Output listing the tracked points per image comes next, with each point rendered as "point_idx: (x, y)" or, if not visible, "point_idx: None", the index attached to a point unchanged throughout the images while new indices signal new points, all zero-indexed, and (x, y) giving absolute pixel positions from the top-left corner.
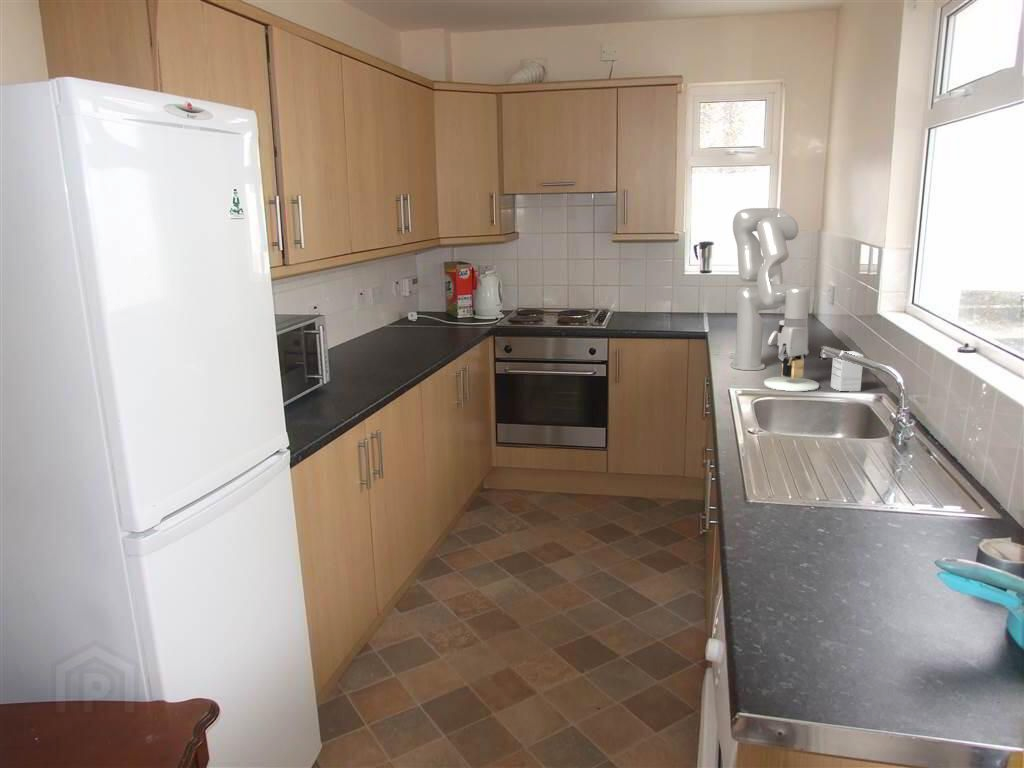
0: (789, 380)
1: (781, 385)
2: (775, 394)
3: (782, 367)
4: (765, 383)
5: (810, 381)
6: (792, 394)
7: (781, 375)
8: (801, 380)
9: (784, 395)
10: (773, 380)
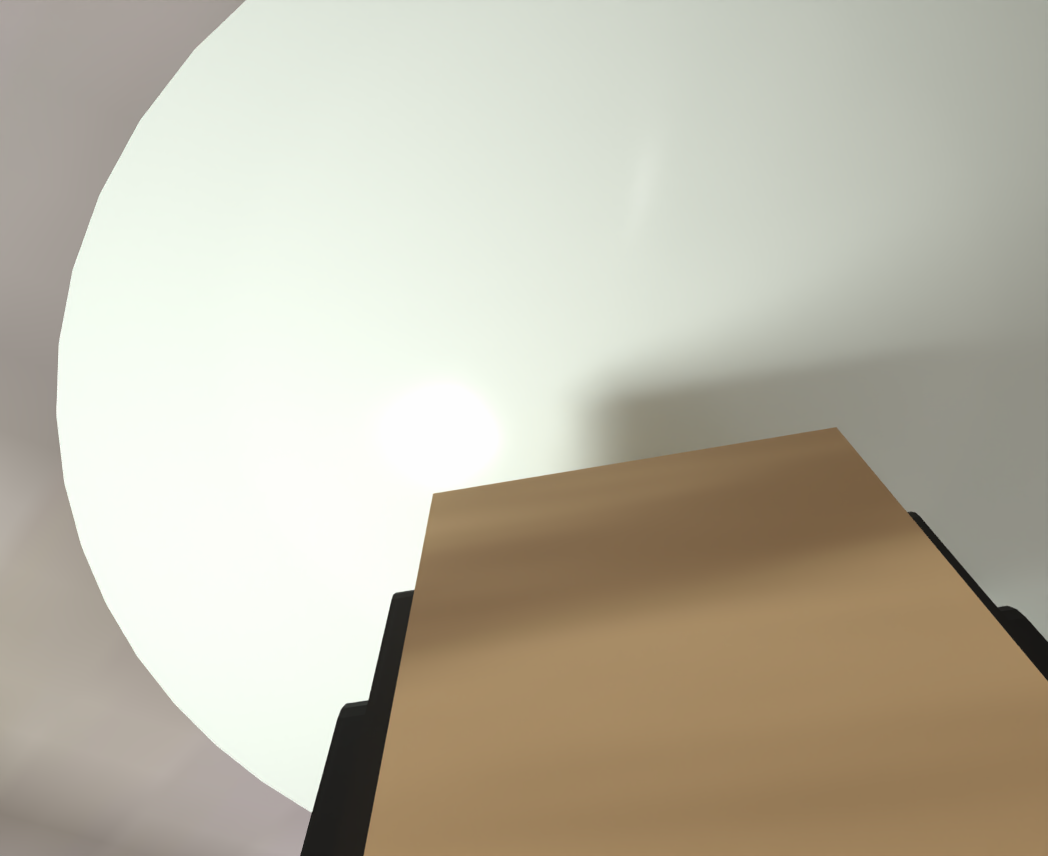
0: (749, 364)
1: (282, 618)
2: (10, 774)
3: (410, 675)
4: (68, 322)
5: (1043, 598)
6: (265, 848)
7: (433, 501)
8: (979, 466)
9: (118, 847)
10: (397, 198)
